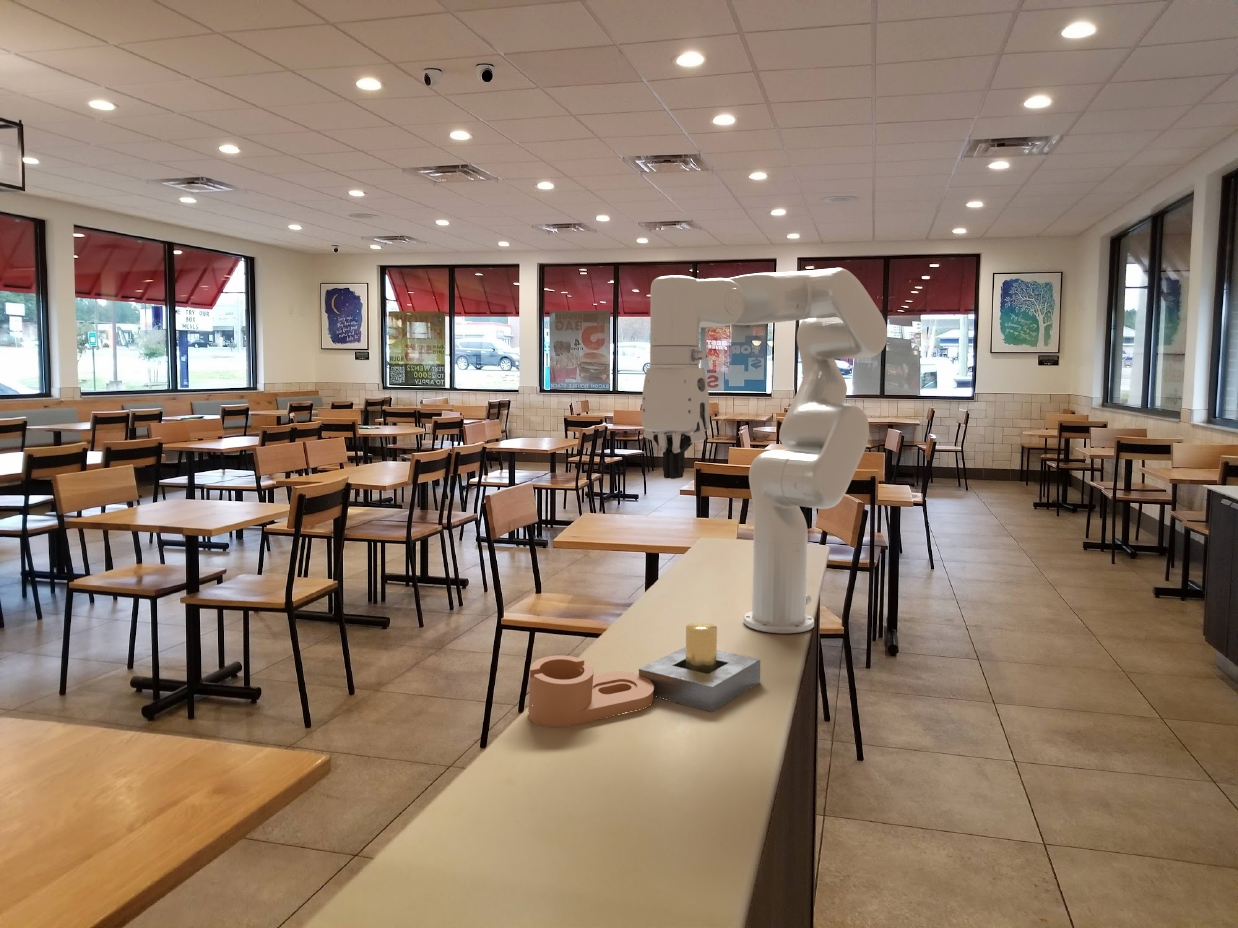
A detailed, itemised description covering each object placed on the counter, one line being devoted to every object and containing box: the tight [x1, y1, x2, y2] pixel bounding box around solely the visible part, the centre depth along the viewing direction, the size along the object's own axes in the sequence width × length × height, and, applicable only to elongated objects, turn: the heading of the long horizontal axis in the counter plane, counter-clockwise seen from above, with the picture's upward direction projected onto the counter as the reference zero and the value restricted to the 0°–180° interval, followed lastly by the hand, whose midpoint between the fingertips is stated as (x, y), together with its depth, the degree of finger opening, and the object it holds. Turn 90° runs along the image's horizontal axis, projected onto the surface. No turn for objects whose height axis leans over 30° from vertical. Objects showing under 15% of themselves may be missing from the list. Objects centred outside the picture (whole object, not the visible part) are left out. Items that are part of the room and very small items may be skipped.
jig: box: [638, 646, 761, 713], centre depth 126 cm, size 14×12×4 cm
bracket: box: [527, 654, 654, 728], centre depth 118 cm, size 18×8×7 cm, turn 120°
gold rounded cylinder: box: [685, 622, 718, 674], centre depth 126 cm, size 4×4×9 cm
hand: (673, 477), depth 136 cm, fingers closed
